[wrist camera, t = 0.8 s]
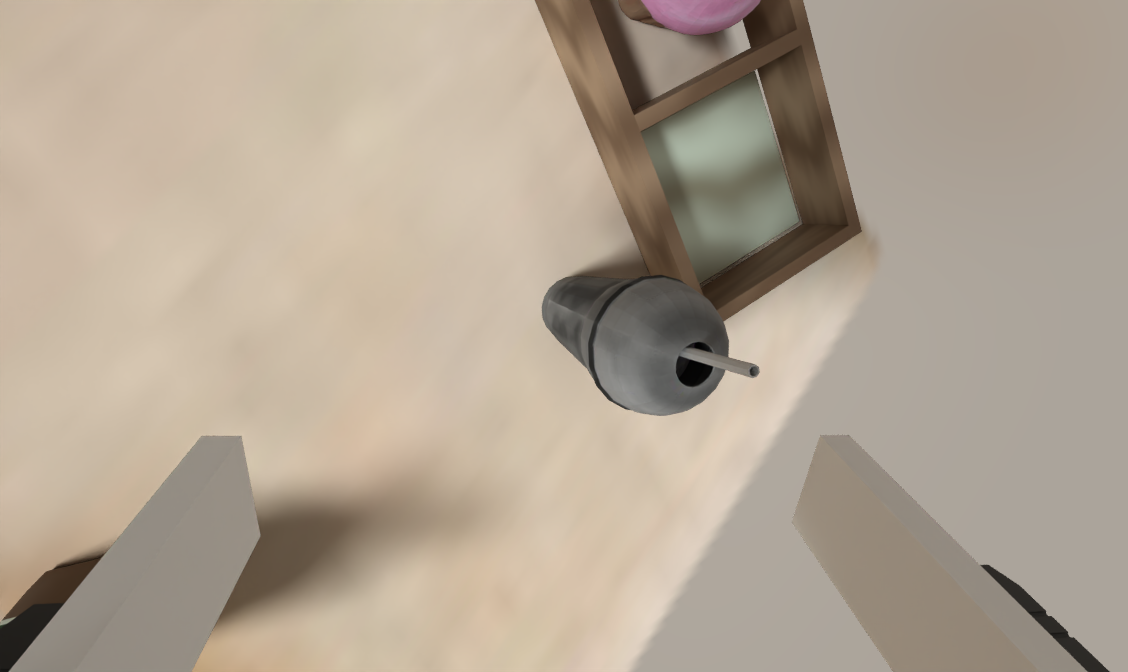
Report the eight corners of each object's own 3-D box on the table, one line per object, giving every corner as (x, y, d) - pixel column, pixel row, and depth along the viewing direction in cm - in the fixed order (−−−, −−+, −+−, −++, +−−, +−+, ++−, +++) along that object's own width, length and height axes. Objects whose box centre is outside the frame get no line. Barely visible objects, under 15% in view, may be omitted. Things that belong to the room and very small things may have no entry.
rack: (492, -102, 32) (513, -149, 28) (696, -185, 35) (742, -237, 31) (669, 321, 42) (704, 333, 38) (815, 229, 45) (861, 231, 41)
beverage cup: (554, 377, 40) (727, 521, 21) (503, 293, 37) (649, 376, 19) (633, 321, 41) (860, 412, 23) (589, 236, 38) (805, 262, 20)
